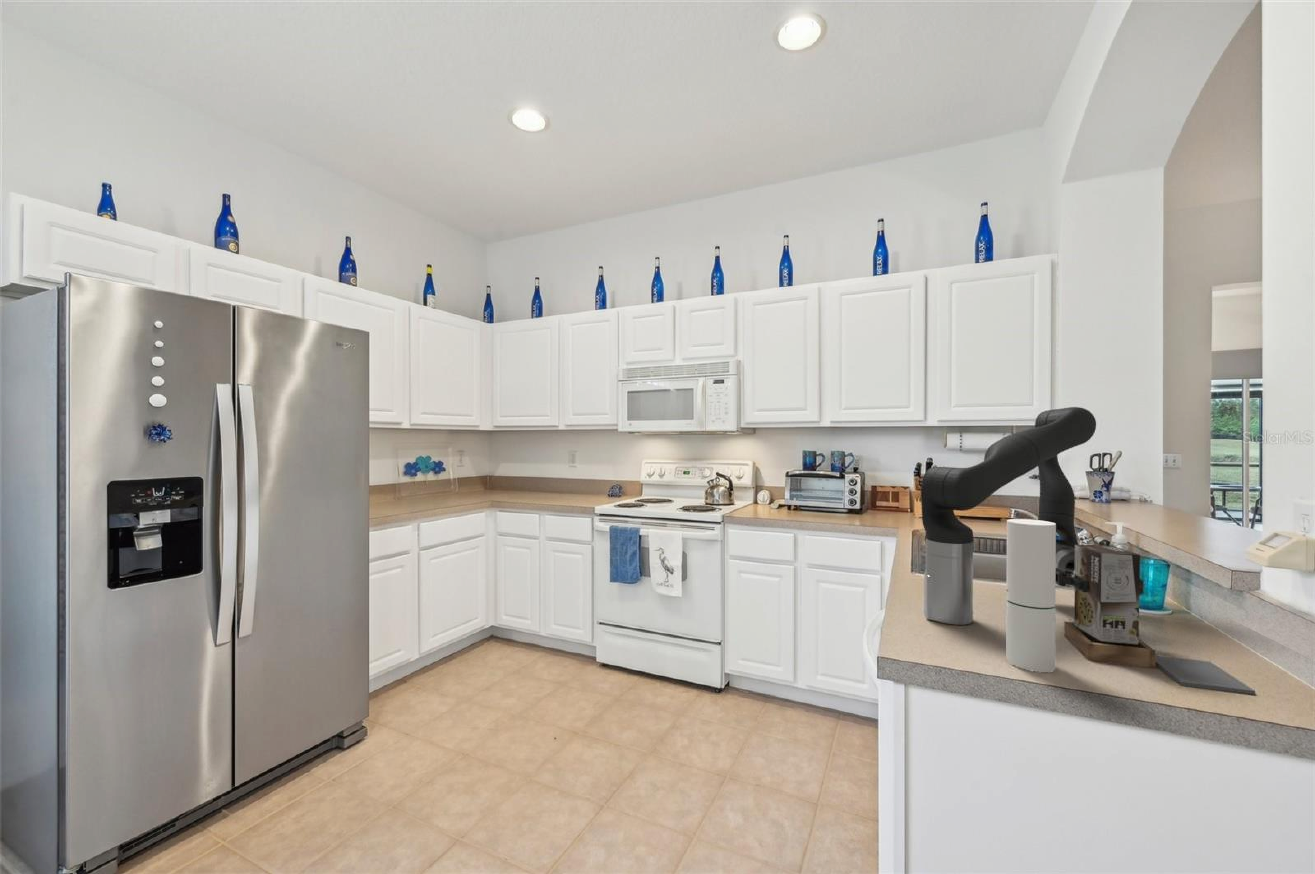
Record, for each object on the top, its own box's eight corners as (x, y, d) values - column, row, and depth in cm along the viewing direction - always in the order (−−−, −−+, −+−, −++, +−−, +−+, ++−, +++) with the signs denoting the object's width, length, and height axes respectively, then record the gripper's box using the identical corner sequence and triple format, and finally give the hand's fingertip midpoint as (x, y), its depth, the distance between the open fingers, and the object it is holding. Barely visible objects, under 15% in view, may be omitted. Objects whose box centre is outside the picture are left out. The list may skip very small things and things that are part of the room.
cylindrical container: (1050, 660, 98) (1050, 520, 98) (1059, 675, 92) (1060, 526, 92) (1003, 653, 101) (1003, 518, 101) (1009, 668, 95) (1010, 523, 95)
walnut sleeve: (1088, 660, 98) (1088, 643, 98) (1064, 636, 110) (1064, 621, 110) (1155, 668, 95) (1155, 651, 95) (1123, 642, 107) (1123, 627, 107)
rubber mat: (1181, 685, 88) (1181, 681, 88) (1145, 657, 100) (1145, 654, 100) (1255, 695, 85) (1255, 691, 85) (1209, 665, 96) (1209, 661, 96)
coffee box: (1141, 645, 97) (1142, 554, 97) (1099, 642, 99) (1101, 552, 99) (1110, 627, 106) (1111, 544, 106) (1072, 625, 108) (1073, 542, 107)
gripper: (1038, 548, 118) (1064, 565, 103) (1120, 554, 113) (1160, 572, 98) (1037, 583, 118) (1063, 604, 103) (1119, 590, 113) (1159, 614, 98)
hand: (1110, 589), depth 100 cm, fingers closed on coffee box, 7 cm apart
